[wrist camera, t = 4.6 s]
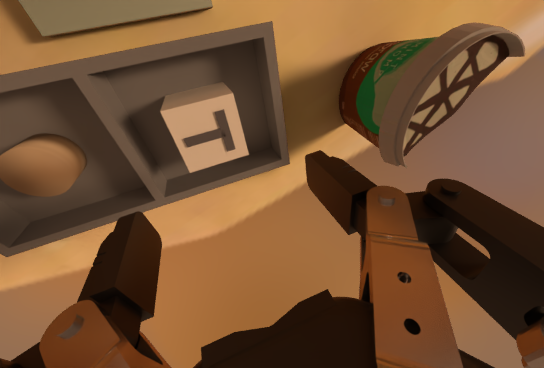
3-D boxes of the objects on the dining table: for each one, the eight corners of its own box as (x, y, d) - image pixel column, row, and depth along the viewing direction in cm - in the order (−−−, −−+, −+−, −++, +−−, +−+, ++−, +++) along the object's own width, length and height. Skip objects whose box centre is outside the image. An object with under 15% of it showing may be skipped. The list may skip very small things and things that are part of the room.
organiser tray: (-137, 102, 13) (-222, 119, 10) (258, 24, 17) (272, 21, 15) (30, 228, 20) (6, 257, 17) (278, 150, 25) (289, 163, 22)
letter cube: (165, 95, 18) (160, 111, 14) (222, 81, 18) (233, 93, 14) (188, 147, 21) (189, 173, 17) (237, 133, 21) (249, 155, 18)
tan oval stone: (6, 141, 16) (-24, 159, 14) (64, 127, 17) (45, 141, 14) (49, 182, 18) (29, 203, 16) (97, 168, 19) (86, 186, 17)
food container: (397, -7, 20) (536, -37, 12) (415, 46, 23) (532, 49, 15) (308, 101, 23) (373, 133, 15) (337, 132, 26) (401, 172, 18)
